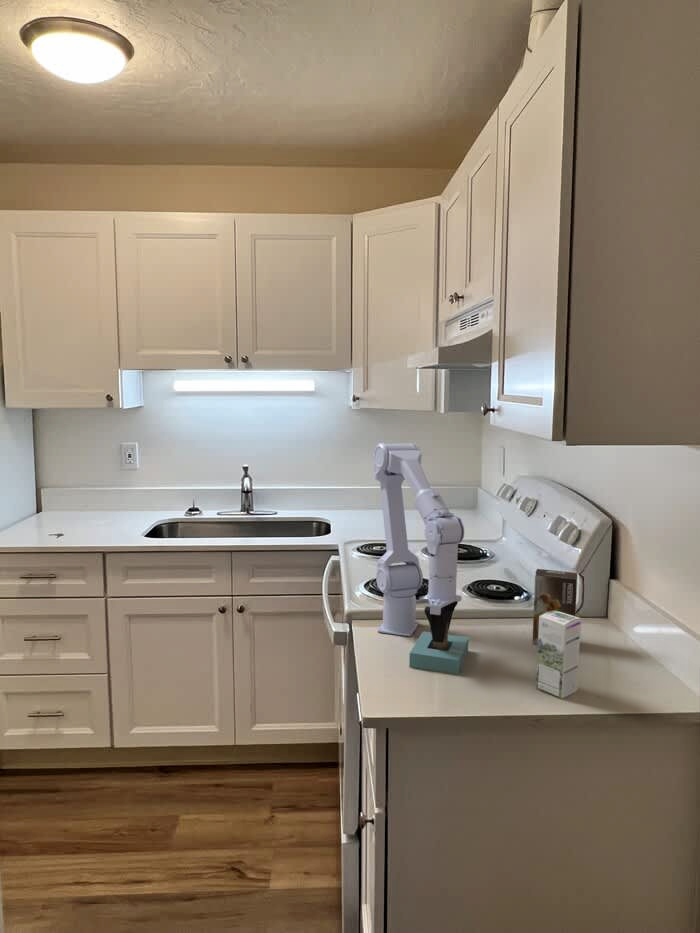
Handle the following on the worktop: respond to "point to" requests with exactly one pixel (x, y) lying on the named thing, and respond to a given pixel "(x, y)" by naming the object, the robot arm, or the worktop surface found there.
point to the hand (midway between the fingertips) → (440, 637)
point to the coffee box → (553, 595)
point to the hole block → (439, 654)
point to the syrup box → (558, 653)
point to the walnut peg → (442, 645)
